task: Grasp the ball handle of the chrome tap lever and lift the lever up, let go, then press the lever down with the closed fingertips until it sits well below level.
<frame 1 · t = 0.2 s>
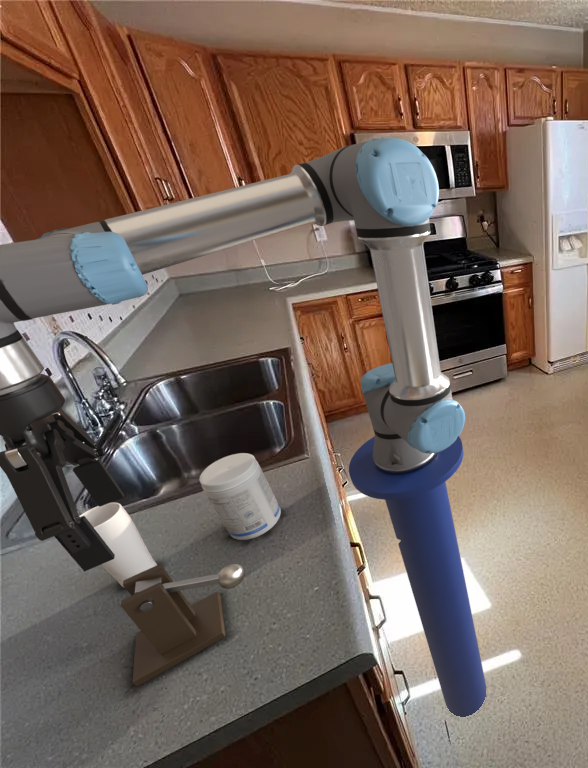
hand: (106, 529, 54), 23 cm above the worktop, tool pointing down, fingers open, 13 cm apart
supplement tub: (257, 524, 85), on the worktop
white tapered cylinder: (141, 577, 75), on the worktop
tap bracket: (182, 637, 64), on the worktop
tap lever: (193, 583, 62), point 9 cm above the worktop, hinge at -26.0°
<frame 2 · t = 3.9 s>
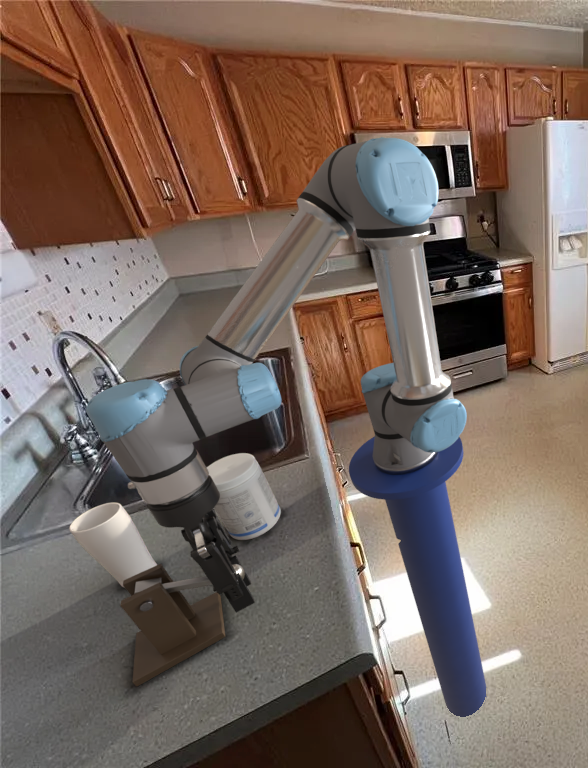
hand: (243, 596, 68), 2 cm above the worktop, tool pointing down, fingers closed on tap lever, 4 cm apart
tap lever: (193, 583, 62), point 9 cm above the worktop, hinge at -26.0°, touching gripper
everything else where it was.
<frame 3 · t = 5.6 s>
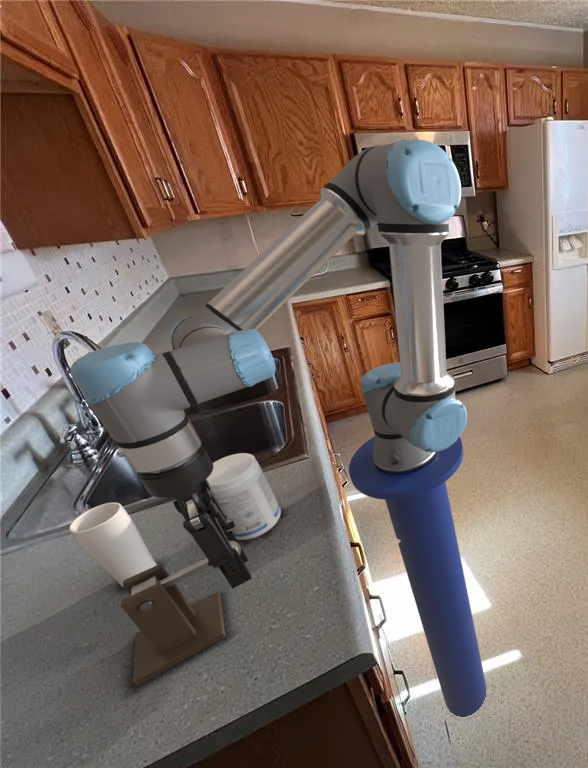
hand: (240, 572, 66), 6 cm above the worktop, tool pointing down, fingers closed on tap lever, 4 cm apart
tap lever: (190, 570, 62), point 11 cm above the worktop, hinge at 1.0°, touching gripper
everything else where it was.
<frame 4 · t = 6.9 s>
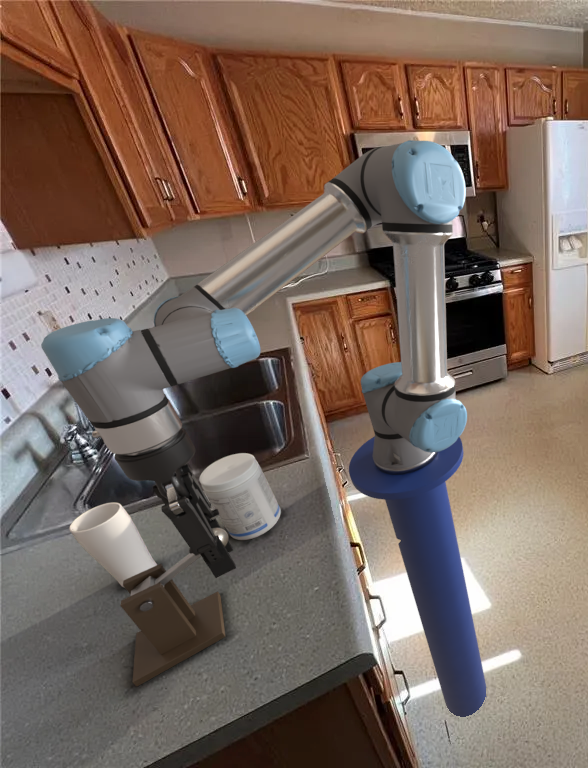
hand: (224, 562, 64), 10 cm above the worktop, tool pointing down, fingers closed on tap lever, 4 cm apart
tap lever: (182, 564, 61), point 13 cm above the worktop, hinge at 19.9°, touching gripper
everything else where it was.
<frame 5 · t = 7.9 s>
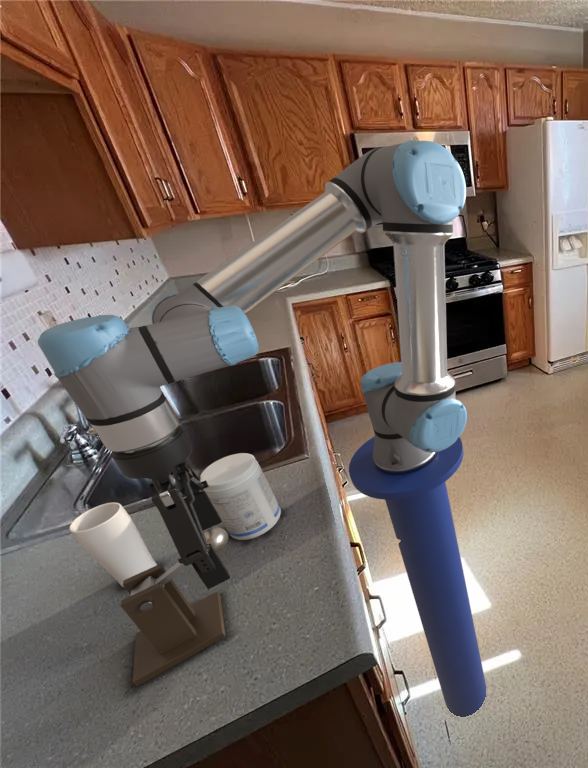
hand: (215, 551, 63), 12 cm above the worktop, tool pointing down, fingers open, 13 cm apart
tap lever: (182, 564, 61), point 13 cm above the worktop, hinge at 19.9°
everything else where it was.
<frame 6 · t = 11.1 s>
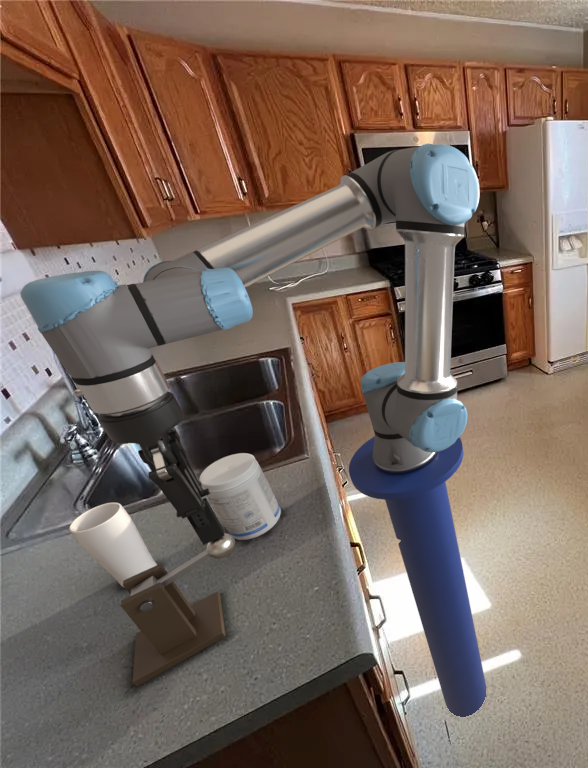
hand: (213, 537, 62), 15 cm above the worktop, tool pointing down, fingers closed
tap lever: (187, 567, 61), point 12 cm above the worktop, hinge at 11.0°, touching gripper
everything else where it was.
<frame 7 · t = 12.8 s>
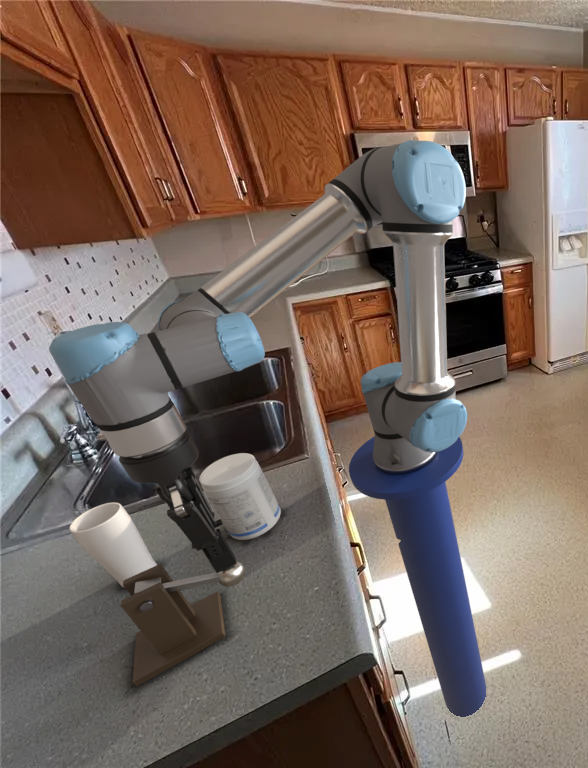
hand: (226, 565, 65), 9 cm above the worktop, tool pointing down, fingers closed
tap lever: (193, 582, 62), point 9 cm above the worktop, hinge at -23.6°, touching gripper
everything else where it was.
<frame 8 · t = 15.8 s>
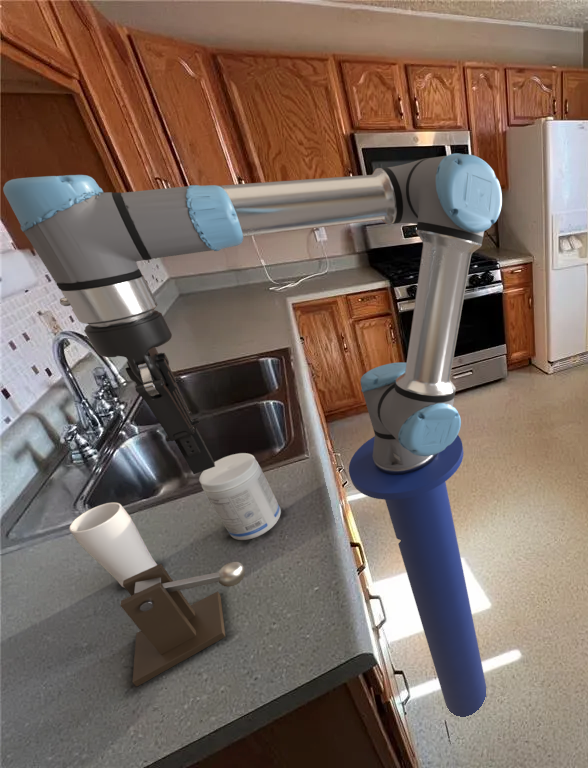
hand: (204, 467, 62), 24 cm above the worktop, tool pointing down, fingers closed
tap lever: (193, 582, 62), point 9 cm above the worktop, hinge at -23.7°
everything else where it was.
at the end: tap lever reached +21° during the clip, -24° at the end; tap lever at -24° (first picture: -26°) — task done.
